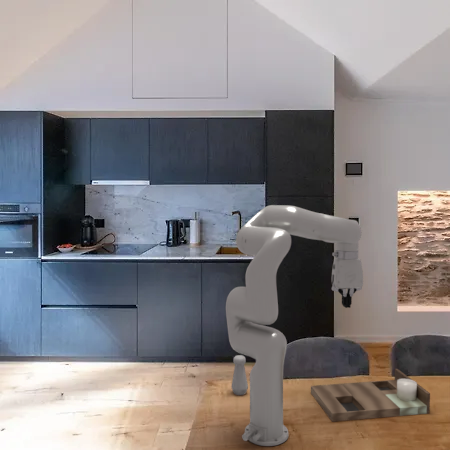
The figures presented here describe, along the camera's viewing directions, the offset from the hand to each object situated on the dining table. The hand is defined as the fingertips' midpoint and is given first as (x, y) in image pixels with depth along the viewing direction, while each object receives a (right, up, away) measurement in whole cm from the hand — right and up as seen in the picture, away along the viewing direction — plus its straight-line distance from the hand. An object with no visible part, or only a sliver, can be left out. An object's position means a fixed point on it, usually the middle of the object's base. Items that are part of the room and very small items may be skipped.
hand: (346, 306), depth 162 cm
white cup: (+17, -28, -12) cm, 34 cm away
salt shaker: (-38, -30, -2) cm, 48 cm away
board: (+4, -30, -10) cm, 32 cm away
